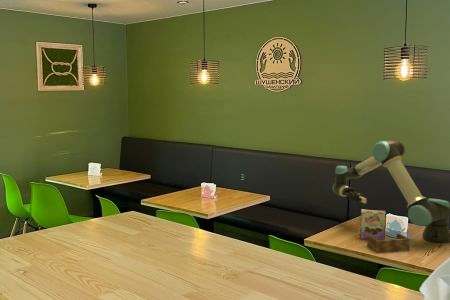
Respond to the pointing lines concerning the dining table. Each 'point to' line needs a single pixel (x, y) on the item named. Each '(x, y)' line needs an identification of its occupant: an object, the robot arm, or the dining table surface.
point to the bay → (389, 244)
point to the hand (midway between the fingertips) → (365, 201)
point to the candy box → (372, 224)
